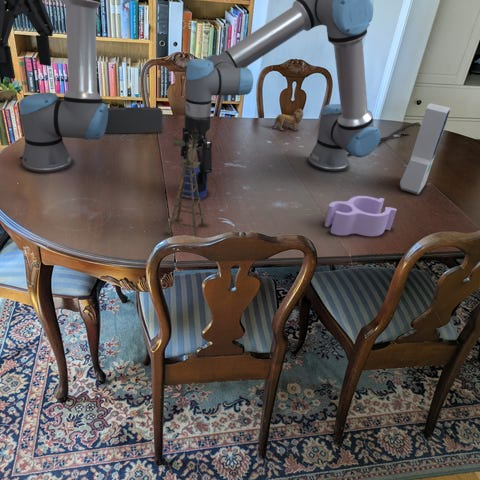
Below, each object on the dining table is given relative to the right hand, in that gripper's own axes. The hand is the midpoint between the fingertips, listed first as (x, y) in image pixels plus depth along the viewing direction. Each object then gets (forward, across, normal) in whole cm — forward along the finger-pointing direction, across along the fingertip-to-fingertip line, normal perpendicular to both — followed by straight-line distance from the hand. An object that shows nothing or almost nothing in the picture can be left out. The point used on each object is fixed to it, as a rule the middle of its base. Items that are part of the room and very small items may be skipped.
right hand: (194, 184), depth 150 cm
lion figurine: (+3, -38, +70) cm, 79 cm away
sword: (+3, -9, +108) cm, 108 cm away
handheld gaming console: (+3, -57, +4) cm, 57 cm away
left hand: (-38, -1, -45) cm, 59 cm away
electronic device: (+3, +29, +75) cm, 81 cm away
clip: (+3, +40, +34) cm, 53 cm away
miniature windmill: (+3, +18, -13) cm, 23 cm away
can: (+3, 0, 0) cm, 3 cm away
